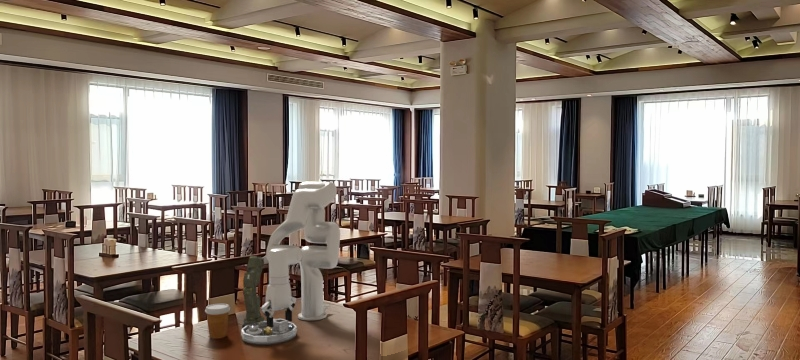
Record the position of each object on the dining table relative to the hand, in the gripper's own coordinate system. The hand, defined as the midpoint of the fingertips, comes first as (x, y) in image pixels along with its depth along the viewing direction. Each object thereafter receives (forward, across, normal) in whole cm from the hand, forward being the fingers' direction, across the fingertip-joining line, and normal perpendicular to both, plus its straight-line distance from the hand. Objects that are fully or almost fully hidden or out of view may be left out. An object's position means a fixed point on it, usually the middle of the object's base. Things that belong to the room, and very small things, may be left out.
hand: (279, 323), depth 229 cm
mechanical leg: (+6, -8, -24) cm, 26 cm away
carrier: (+6, 0, -6) cm, 8 cm away
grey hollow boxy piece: (+5, 0, 0) cm, 5 cm away
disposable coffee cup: (+6, +12, -23) cm, 26 cm away
